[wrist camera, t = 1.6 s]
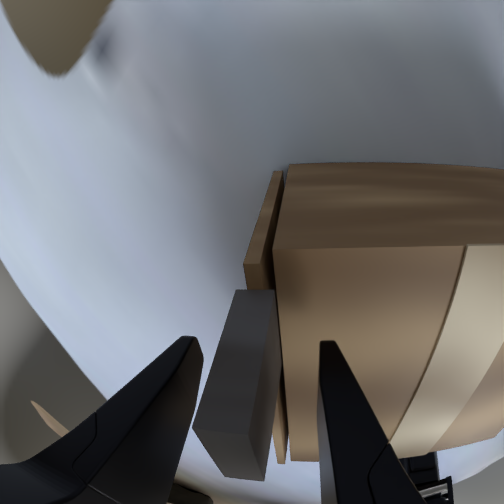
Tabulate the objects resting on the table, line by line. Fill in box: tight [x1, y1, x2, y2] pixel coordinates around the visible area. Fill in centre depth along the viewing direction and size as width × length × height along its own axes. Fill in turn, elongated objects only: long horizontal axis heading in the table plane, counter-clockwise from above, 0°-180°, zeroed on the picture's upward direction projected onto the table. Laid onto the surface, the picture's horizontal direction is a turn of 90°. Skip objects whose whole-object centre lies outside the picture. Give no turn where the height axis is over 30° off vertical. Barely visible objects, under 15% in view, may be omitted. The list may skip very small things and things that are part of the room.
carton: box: [272, 162, 504, 462], centre depth 13 cm, size 14×13×8 cm
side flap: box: [192, 171, 289, 481], centre depth 13 cm, size 14×1×12 cm, turn 7°
